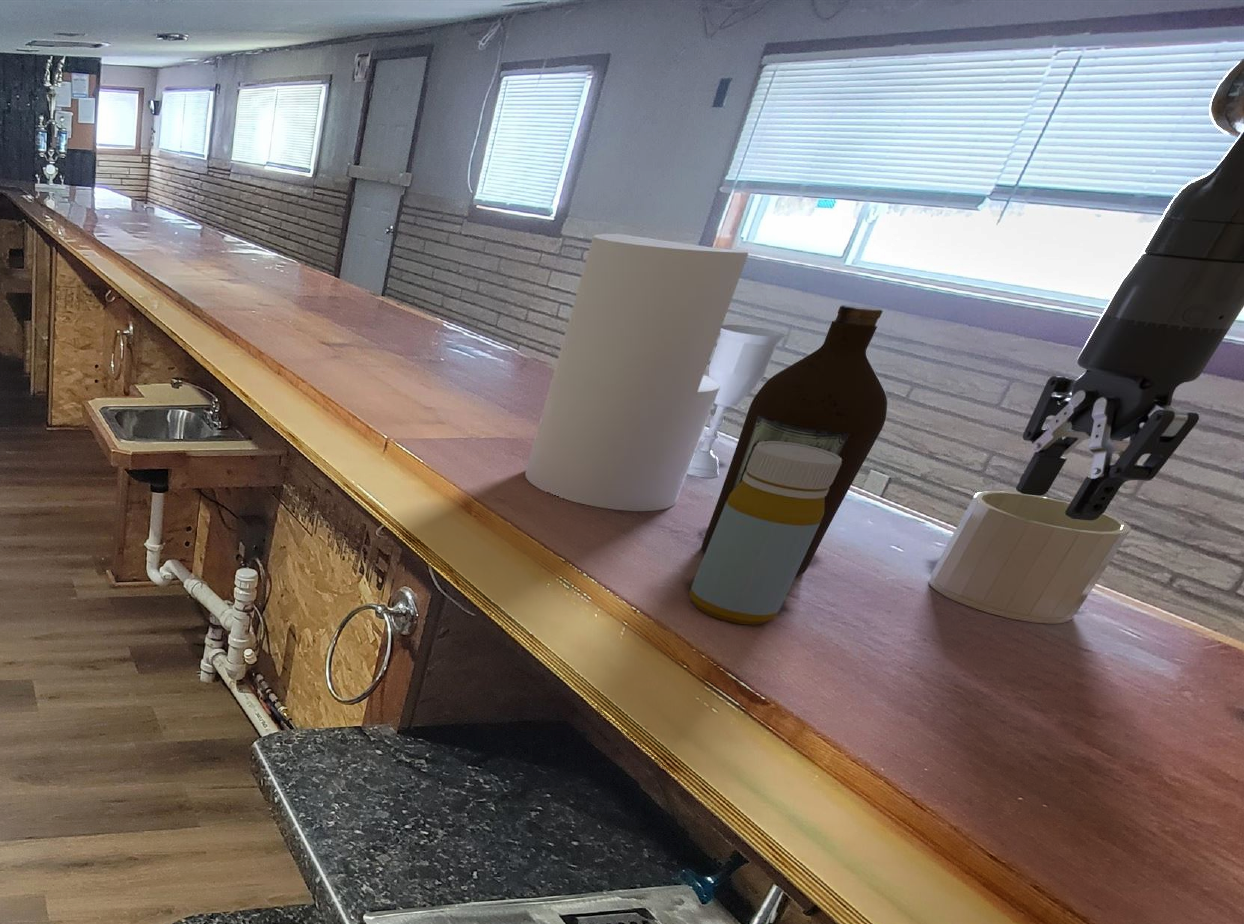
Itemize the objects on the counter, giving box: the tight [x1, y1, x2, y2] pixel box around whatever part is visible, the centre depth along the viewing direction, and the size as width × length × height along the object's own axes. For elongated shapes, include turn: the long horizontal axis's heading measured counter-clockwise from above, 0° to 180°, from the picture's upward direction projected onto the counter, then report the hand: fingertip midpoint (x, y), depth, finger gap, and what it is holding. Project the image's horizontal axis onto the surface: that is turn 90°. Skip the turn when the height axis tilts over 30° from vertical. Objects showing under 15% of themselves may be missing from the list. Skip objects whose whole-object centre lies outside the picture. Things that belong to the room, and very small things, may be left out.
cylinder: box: [524, 233, 749, 512], centre depth 106 cm, size 17×17×28 cm
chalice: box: [687, 324, 786, 479], centre depth 116 cm, size 7×7×18 cm
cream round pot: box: [928, 490, 1132, 625], centre depth 86 cm, size 11×11×9 cm
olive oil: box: [701, 304, 888, 577], centre depth 88 cm, size 11×11×25 cm
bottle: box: [688, 441, 842, 626], centre depth 80 cm, size 7×7×15 cm
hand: (1053, 504), depth 84 cm, fingers open, 6 cm apart
